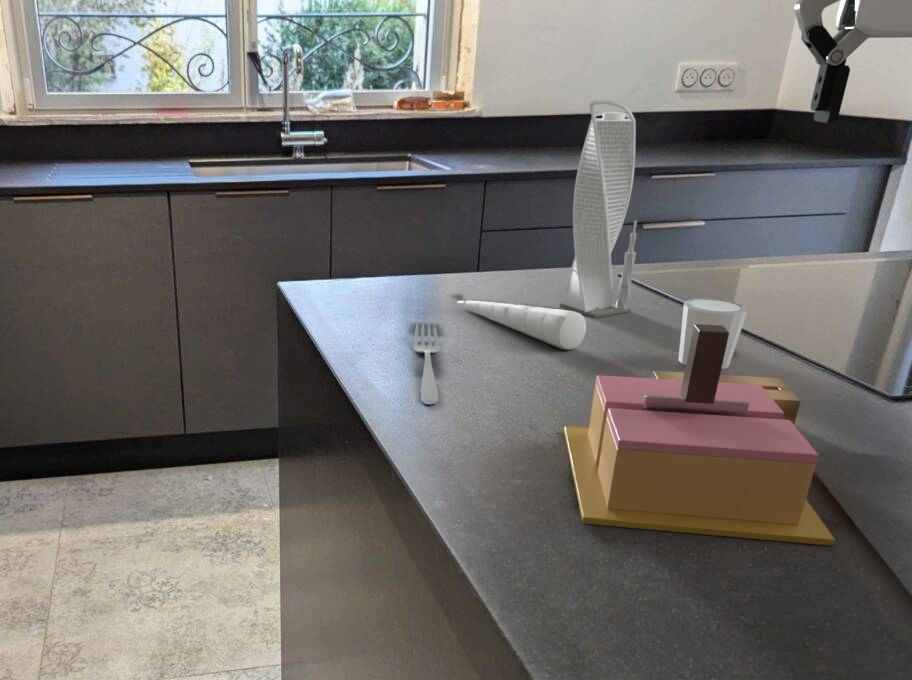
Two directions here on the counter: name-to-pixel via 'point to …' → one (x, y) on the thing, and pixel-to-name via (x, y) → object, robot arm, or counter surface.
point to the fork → (427, 365)
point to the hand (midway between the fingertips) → (892, 122)
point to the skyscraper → (602, 214)
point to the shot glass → (711, 323)
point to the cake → (693, 465)
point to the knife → (701, 378)
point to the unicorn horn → (535, 321)
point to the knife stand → (771, 385)
